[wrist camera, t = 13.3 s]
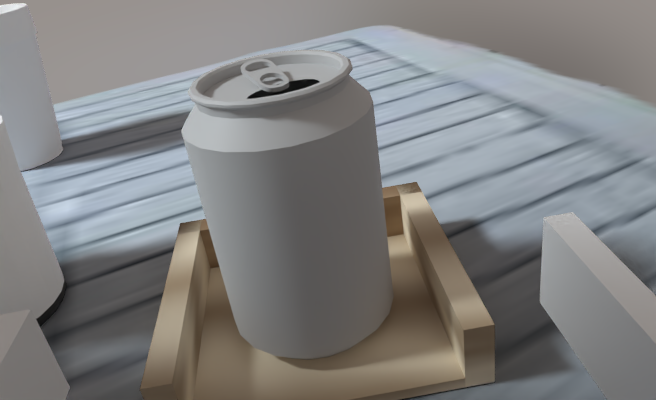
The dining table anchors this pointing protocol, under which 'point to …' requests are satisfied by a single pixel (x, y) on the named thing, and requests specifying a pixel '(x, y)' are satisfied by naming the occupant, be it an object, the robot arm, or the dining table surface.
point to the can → (293, 199)
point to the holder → (345, 367)
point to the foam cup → (25, 90)
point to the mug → (24, 245)
